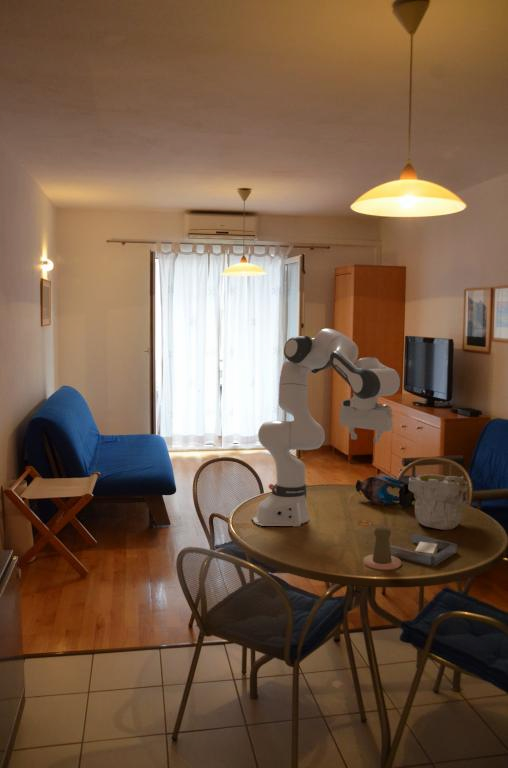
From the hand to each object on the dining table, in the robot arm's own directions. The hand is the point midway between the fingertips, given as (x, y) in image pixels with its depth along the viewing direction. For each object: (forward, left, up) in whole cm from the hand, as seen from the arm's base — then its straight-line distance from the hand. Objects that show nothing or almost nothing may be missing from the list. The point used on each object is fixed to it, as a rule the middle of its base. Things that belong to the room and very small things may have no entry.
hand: (365, 440), depth 234 cm
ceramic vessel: (+35, +7, -35) cm, 50 cm away
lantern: (+25, +37, -35) cm, 57 cm away
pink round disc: (-5, -26, -35) cm, 44 cm away
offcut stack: (+13, -23, -36) cm, 44 cm away
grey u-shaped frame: (+12, -21, -35) cm, 43 cm away
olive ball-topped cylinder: (-5, -26, -34) cm, 43 cm away
